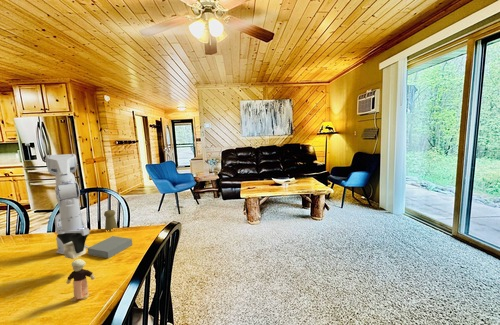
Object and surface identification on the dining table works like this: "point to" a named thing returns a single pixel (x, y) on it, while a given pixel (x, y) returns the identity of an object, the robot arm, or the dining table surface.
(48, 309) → the dining table surface
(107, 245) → the base plinth
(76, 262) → the grandmother figurine
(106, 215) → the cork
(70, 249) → the cream cube
